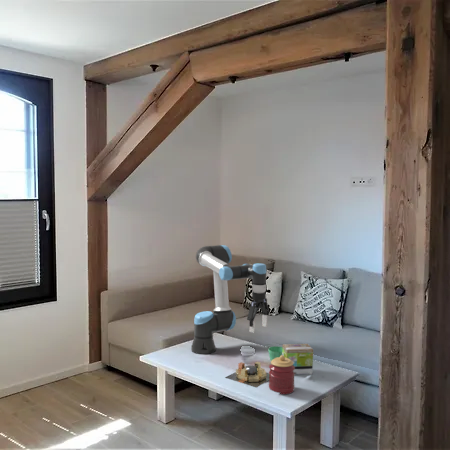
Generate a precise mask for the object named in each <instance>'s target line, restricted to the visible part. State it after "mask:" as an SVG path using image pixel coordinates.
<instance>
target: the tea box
mask: <svg viewBox="0 0 450 450" xmlns="http://www.w3.org/2000/svg"><path fill="white" fill-rule="evenodd" d="M281 347H282V355H283V356H284V357H285V358H288V359H290V360H291V361H293V365H294V366H295V369H294V373H295V375H304V374H306V375H307V374H308V376H312V375H313V366H314V363H313V362H314V349H313V347H311V345H309V343H289V344H288V343H285V344H284V343H283V344H282V346H281Z"/></svg>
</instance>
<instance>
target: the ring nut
mask: <svg viewBox="0 0 450 450" xmlns="http://www.w3.org/2000/svg"><path fill="white" fill-rule="evenodd" d="M237 366H238V367H237V369H235V372H236V376H237V379H239V380H243V381H246V382H247V381H248V382H259V381H262V380H264V379H265V378H266V374H267V373H268V372H267V371H266V370H265V368H263V367H262V362H260V361H256V362H254V366H256V367H257V375H248V369H246V366H247V365H245V362H242V361H241V362H239V363H238V365H237ZM266 372H267V373H266Z"/></svg>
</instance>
